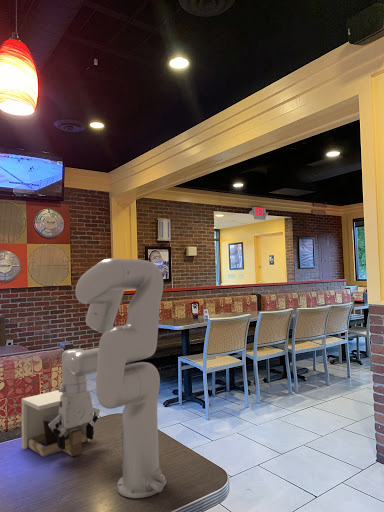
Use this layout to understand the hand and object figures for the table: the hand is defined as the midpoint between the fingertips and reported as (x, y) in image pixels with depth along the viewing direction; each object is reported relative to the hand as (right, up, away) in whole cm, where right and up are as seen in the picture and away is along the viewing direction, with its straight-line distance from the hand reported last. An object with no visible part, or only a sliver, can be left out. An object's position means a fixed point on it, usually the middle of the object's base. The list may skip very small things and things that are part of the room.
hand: (76, 443), depth 118 cm
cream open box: (-10, -5, +9) cm, 14 cm away
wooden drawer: (-6, -4, +6) cm, 10 cm away
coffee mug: (-7, -5, +7) cm, 12 cm away
